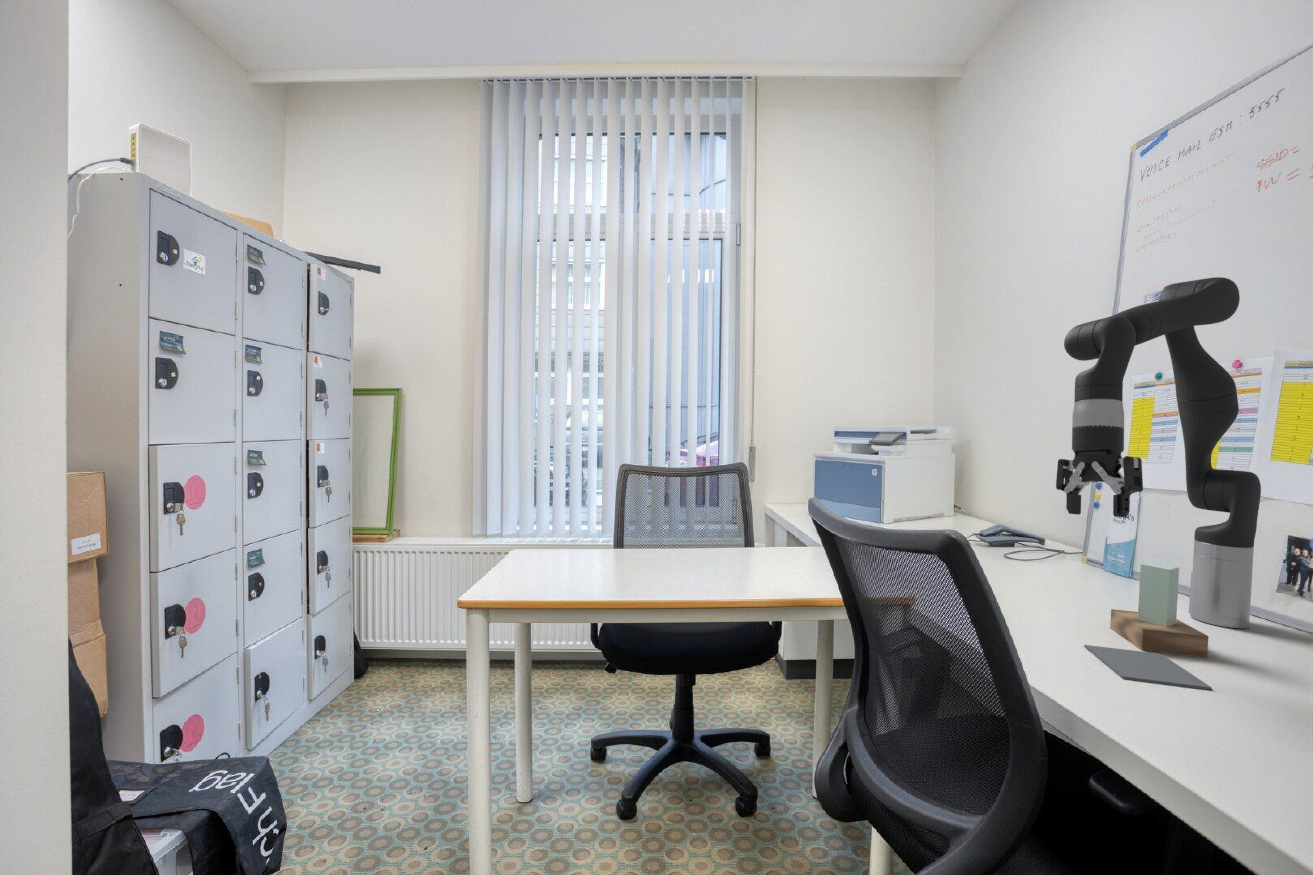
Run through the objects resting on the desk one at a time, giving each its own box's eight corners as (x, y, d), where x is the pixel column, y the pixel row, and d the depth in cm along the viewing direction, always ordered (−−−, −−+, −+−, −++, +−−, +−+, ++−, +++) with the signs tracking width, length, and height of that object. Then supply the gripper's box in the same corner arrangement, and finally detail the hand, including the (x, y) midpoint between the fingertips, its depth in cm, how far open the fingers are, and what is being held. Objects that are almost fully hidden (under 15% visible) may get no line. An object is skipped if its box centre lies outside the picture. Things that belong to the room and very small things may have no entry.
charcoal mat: (1084, 646, 107) (1084, 644, 107) (1160, 655, 104) (1160, 653, 104) (1122, 678, 94) (1122, 676, 94) (1211, 689, 90) (1211, 687, 90)
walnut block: (1110, 628, 118) (1111, 609, 118) (1168, 634, 115) (1169, 614, 115) (1141, 650, 106) (1142, 629, 106) (1207, 657, 104) (1208, 636, 104)
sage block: (1137, 619, 112) (1140, 564, 111) (1147, 616, 114) (1150, 562, 113) (1166, 627, 108) (1169, 569, 107) (1176, 623, 110) (1179, 567, 110)
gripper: (1155, 425, 98) (1154, 519, 96) (1078, 432, 112) (1076, 514, 110) (1120, 420, 96) (1119, 516, 95) (1046, 427, 110) (1044, 511, 109)
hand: (1096, 515), depth 103 cm, fingers open, 8 cm apart
